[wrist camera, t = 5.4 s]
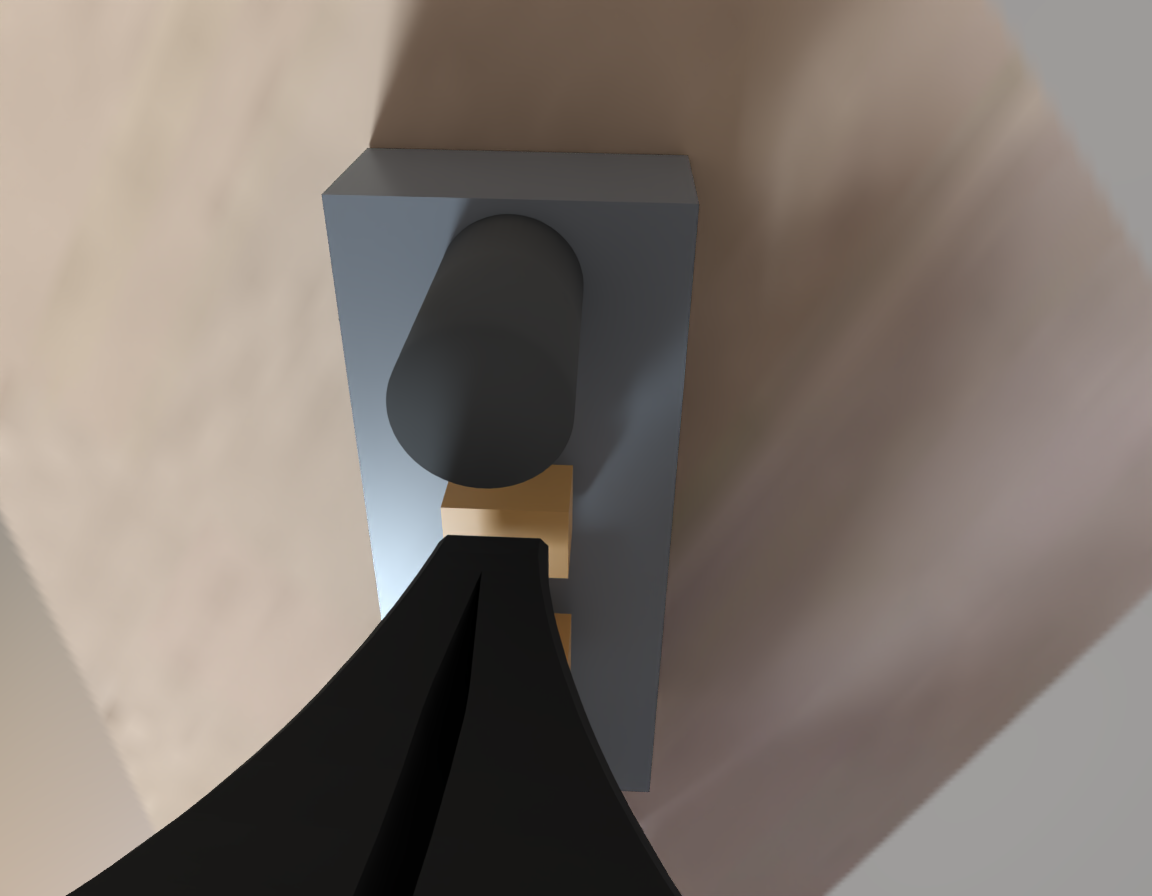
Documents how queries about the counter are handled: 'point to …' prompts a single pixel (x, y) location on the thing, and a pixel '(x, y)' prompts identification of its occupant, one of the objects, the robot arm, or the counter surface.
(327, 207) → the grey base plate
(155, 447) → the counter surface
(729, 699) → the counter surface
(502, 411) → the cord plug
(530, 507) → the tan wooden dumbbell piece
